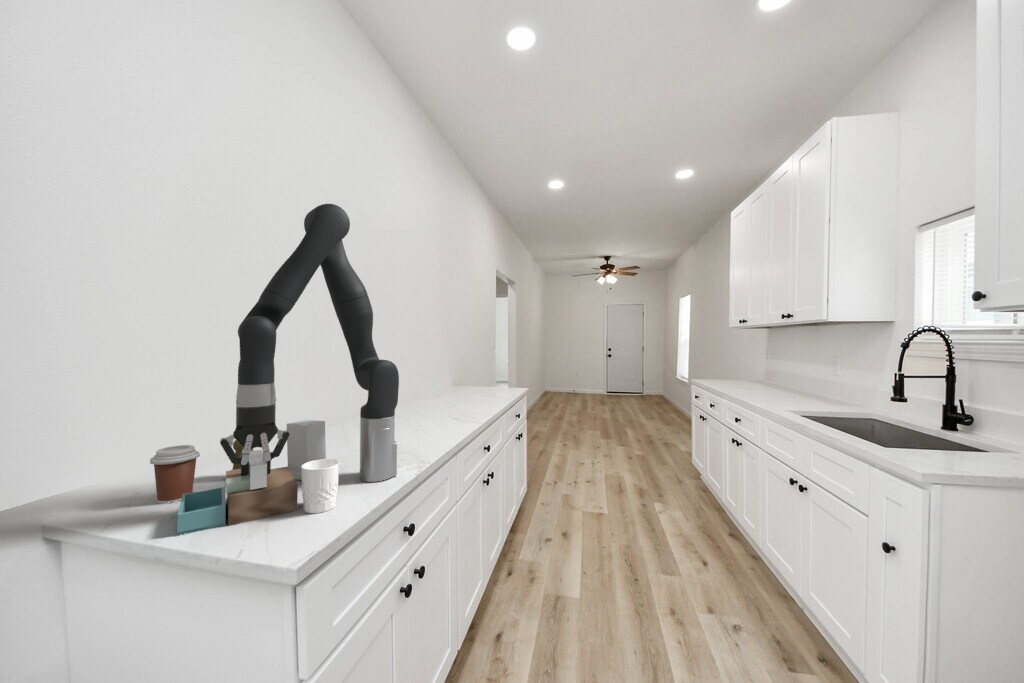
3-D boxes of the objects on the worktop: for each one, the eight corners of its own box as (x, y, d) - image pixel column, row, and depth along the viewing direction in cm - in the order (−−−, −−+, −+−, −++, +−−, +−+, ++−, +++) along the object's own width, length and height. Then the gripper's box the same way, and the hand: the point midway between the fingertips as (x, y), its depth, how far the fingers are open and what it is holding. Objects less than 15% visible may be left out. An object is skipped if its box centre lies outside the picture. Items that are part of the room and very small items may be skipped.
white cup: (292, 511, 85) (293, 466, 85) (321, 498, 93) (322, 457, 93) (318, 517, 82) (319, 471, 82) (346, 503, 90) (347, 461, 90)
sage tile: (248, 483, 86) (248, 474, 86) (249, 489, 82) (249, 480, 82) (226, 487, 83) (226, 478, 83) (226, 493, 80) (226, 484, 80)
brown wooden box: (287, 489, 98) (288, 466, 98) (297, 510, 86) (297, 483, 86) (227, 501, 90) (227, 476, 90) (228, 525, 78) (228, 496, 78)
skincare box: (326, 475, 109) (327, 420, 109) (306, 482, 103) (306, 425, 103) (306, 471, 112) (307, 418, 112) (285, 478, 106) (285, 422, 106)
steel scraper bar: (261, 469, 94) (261, 449, 94) (266, 486, 83) (266, 463, 83) (246, 472, 92) (246, 451, 92) (250, 490, 81) (250, 466, 81)
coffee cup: (179, 489, 97) (180, 442, 98) (208, 492, 96) (209, 444, 96) (138, 504, 88) (139, 452, 89) (169, 507, 87) (170, 455, 87)
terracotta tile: (246, 476, 91) (246, 467, 91) (247, 480, 87) (247, 472, 87) (225, 479, 88) (225, 470, 88) (225, 484, 85) (226, 475, 85)
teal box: (224, 503, 89) (224, 486, 89) (225, 524, 79) (225, 505, 79) (182, 512, 85) (182, 494, 85) (177, 535, 74) (177, 515, 74)
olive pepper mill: (243, 481, 103) (243, 441, 103) (225, 479, 105) (225, 439, 105) (262, 474, 109) (262, 435, 109) (244, 472, 110) (245, 434, 111)
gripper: (289, 398, 95) (288, 468, 95) (217, 403, 86) (217, 480, 86) (293, 402, 89) (293, 476, 89) (217, 408, 80) (217, 490, 80)
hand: (255, 477), depth 87 cm, fingers closed on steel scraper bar, 3 cm apart
